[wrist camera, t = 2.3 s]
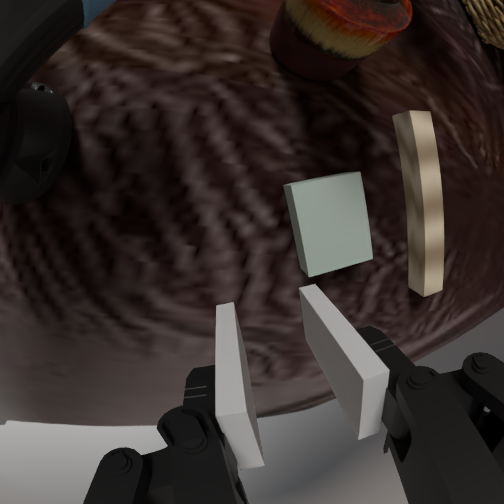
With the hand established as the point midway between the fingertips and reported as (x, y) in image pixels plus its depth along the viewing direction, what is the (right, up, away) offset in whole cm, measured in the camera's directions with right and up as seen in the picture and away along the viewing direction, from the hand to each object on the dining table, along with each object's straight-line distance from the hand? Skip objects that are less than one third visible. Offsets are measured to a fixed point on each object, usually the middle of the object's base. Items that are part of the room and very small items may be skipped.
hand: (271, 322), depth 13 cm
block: (+8, +7, +21) cm, 23 cm away
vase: (+6, +28, +15) cm, 33 cm away
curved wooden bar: (+21, +10, +21) cm, 32 cm away
